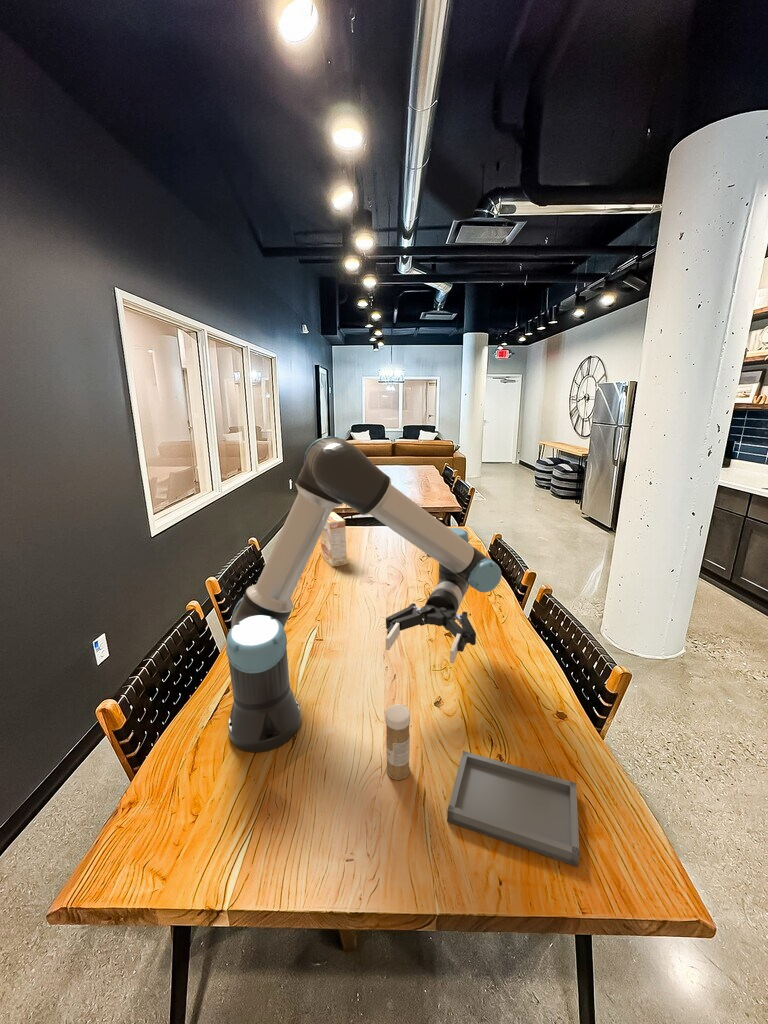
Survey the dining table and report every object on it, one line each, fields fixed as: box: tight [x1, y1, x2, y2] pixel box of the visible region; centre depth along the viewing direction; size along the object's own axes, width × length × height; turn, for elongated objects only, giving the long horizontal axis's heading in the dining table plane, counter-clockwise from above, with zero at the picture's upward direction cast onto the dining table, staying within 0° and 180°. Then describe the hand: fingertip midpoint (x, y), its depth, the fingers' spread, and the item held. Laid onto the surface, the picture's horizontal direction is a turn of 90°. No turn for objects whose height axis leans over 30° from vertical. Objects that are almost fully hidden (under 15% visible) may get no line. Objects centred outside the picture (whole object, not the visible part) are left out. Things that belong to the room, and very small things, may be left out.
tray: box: [446, 750, 580, 868], centre depth 73 cm, size 20×13×2 cm, turn 68°
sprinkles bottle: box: [384, 703, 411, 781], centre depth 79 cm, size 5×5×14 cm
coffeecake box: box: [319, 511, 348, 568], centre depth 182 cm, size 15×7×20 cm, turn 25°
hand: (418, 650), depth 86 cm, fingers open, 13 cm apart
